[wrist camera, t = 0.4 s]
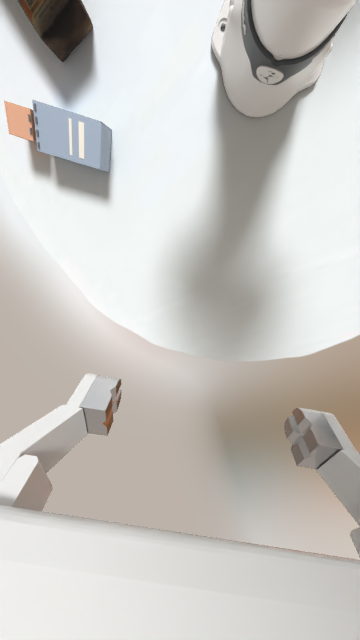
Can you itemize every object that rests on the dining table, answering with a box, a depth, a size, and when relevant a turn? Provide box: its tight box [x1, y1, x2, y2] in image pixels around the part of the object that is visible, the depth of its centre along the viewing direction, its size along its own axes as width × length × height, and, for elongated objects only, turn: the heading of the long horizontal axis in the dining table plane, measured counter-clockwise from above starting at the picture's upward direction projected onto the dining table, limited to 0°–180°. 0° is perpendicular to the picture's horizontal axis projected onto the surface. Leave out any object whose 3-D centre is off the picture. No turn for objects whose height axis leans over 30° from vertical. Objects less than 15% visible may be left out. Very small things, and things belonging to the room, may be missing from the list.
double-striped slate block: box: [32, 100, 112, 172], centre depth 39 cm, size 7×12×5 cm, turn 76°
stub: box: [4, 101, 37, 143], centre depth 38 cm, size 4×4×5 cm
